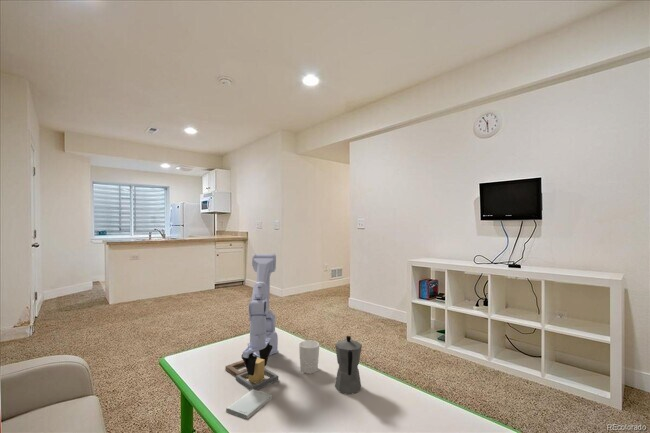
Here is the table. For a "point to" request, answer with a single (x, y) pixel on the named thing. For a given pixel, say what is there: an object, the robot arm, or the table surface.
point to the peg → (258, 371)
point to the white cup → (309, 356)
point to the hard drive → (249, 403)
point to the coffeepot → (348, 366)
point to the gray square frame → (261, 384)
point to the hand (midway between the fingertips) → (257, 369)
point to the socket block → (233, 370)
